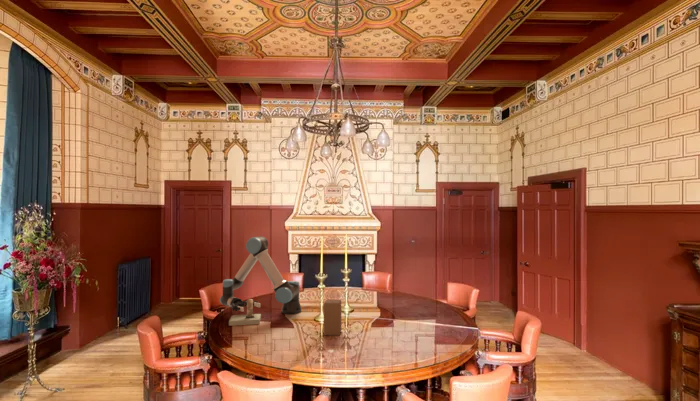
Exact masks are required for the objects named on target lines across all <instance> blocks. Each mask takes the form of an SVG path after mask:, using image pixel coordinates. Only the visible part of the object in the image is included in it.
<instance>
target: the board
mask: <svg viewBox="0 0 700 401" xmlns="http://www.w3.org/2000/svg"><path fill="white" fill-rule="evenodd" d="M261 318H262V313H253V317H252V318H247V314H233V315H231V316H230V317H229V320H228V326H229V327H230V326H231V327H232V326H244V325H245V326H246V325H247V326H248V325H259V324H261V323H260V322H261Z"/></svg>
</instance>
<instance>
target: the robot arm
mask: <svg viewBox="0 0 700 401" xmlns="http://www.w3.org/2000/svg"><path fill="white" fill-rule="evenodd" d="M245 247H246V251H247V252H248V253H249V255H248V256H247V257H246V259H245V260H244V262H243V263H242V265H241V266H240V268H239V270H238V271H237V272H236V274H235V276H234V277H233V279H232V278H226V279H222V280H223V281H222V285H221V287H222V295H221V296H220V297H219V302H220V304H221V305H222V306H225V307H229V308H231V310H232V311H235V312H237V311H238V312H245V307H247V300H248V299H247V300H244V301H243V299H241V298H239V297H236V296H234V290H238V289H241V287H242V286H243V284H244V281H245V280H246V278H247V276H248V275H249V273H250V272H251V270H252V269H253V267H254V266H255V264H256V263H257V262H259V263H260V265H261V268H262V269H263V270H264V272H265V273H266V275H267V277H268V279H269V281H270V282H271V284H272V285H273V291H274V296H275V299H276V301H277V302H278V303H280V304H282V306H281V314H286V315H296V314H299V313H301V312H302V306H301V303H300V283H299V281H297V280H296V281H295V280H285V279H284V277H283V275H282V274H281V272H280V271H279V269H278V267H277V265H276V264H275V262H274V260H273V259H272V258H271V256H270V254H269V248H268V247H269V240H268V238H266V237H265V236H261V235H260V236H254V237H250V238H249V239H248V240H247V241H246V244H245ZM253 307H256V308H261V303H260V302H258V301H257V300H253Z"/></svg>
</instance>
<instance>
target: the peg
mask: <svg viewBox="0 0 700 401" xmlns="http://www.w3.org/2000/svg"><path fill="white" fill-rule="evenodd" d="M253 301H254V299H252V298H248V299H247V306H246V315H247V318H252V317H253V314H254V310H253V309H254V306H253Z"/></svg>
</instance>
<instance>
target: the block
mask: <svg viewBox="0 0 700 401" xmlns="http://www.w3.org/2000/svg"><path fill="white" fill-rule="evenodd" d="M341 332H342V300H341V299H328V298H327V299H326V300H325V301H324V303H323V336H337V337H338V336H340V334H341Z"/></svg>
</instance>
